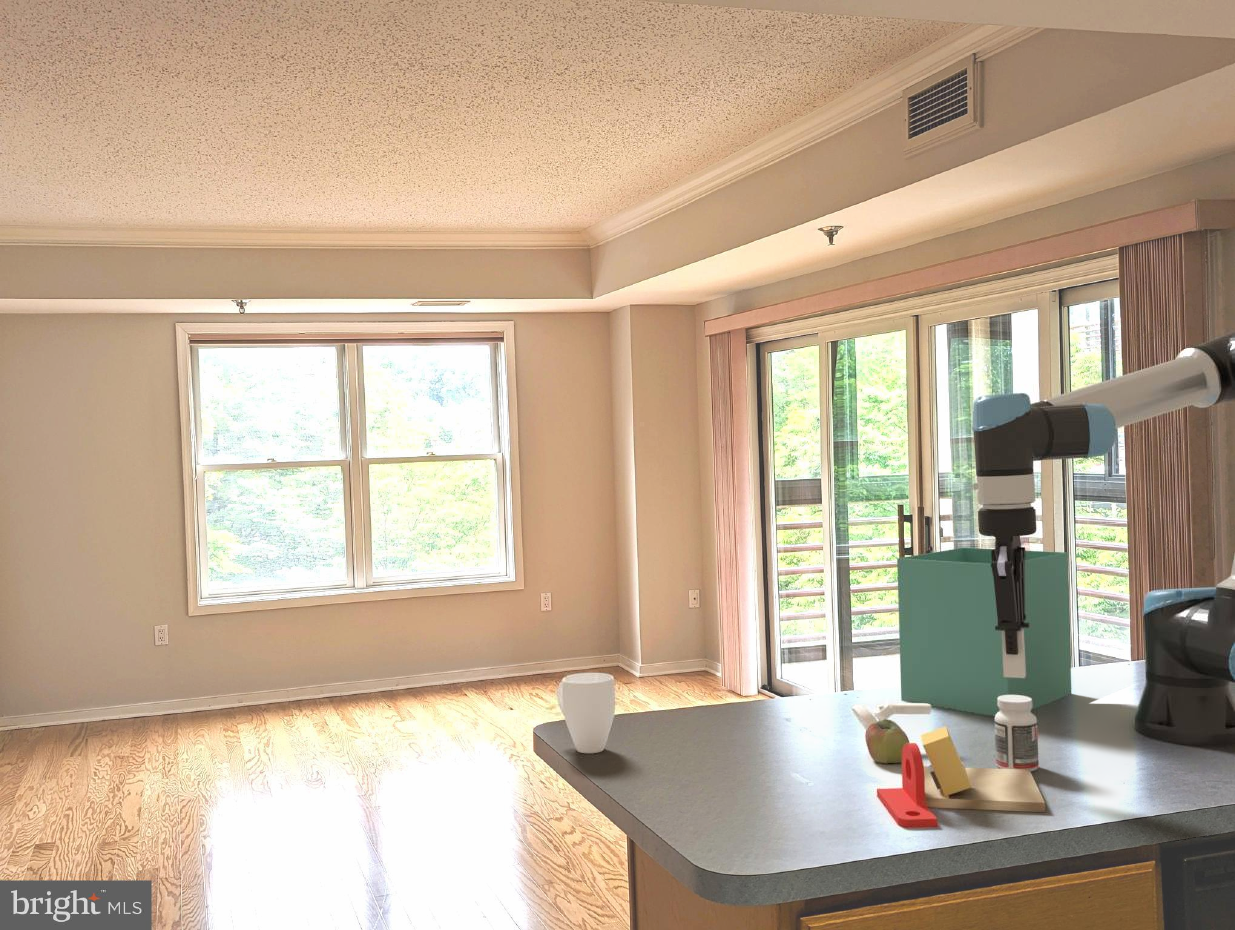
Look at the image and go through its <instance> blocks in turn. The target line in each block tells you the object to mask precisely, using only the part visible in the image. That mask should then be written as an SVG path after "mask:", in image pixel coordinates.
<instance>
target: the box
mask: <svg viewBox="0 0 1235 930" xmlns="http://www.w3.org/2000/svg"><path fill="white" fill-rule="evenodd" d="M992 549H993V548H979V547H958V548H953V549H946V550H940V551H936V552H929V553H923V554H915V555H911V556H904V557H899V558H896V563H897V564H896V565H897V567H896V568H897V594H898V596H897V598H898V603H897V604H898V630H899V631H898V633H899V635H898V636H899V663H900V665H899V666H900V696H901V697H900V699H901V701H902V702H903V701H904V702H907V703H927V704H930V705H931V707H937V706H938V708H942V707H944V708H943V709H948V708H952V709H951V710H954V709H958V710H957V711H960V710H962V711H961V712H965V711H967V712H966V713H971V712H975V713H974V714H977V713H978V714H977V715H983V714H985V715H984V716H988V715H993V716H992V717H994V716H995V715H996V714H997V713H998V712H999V711H1000V708H999V707H998V705H997V698H998V697H999V696H1002V695H1021V696H1027V697H1030V698H1031V699H1032V705H1033V707H1032V709H1033V710H1035V709H1038V708H1040V707H1043V706H1045V705H1048V704H1051V703H1052V702H1055V701H1057V700H1060V699H1062V698H1065V697H1067V696H1070V695H1072V671H1071V670H1072V666H1071V665H1072V662H1071V661H1072V660H1071V632H1070V631H1071V629H1070V626H1071V625H1070V591H1069V590H1070V588H1069V562H1068V561H1069V560H1068V559H1069V557H1068V554H1069V553H1068V552H1067V551H1066V552H1062V551H1061V552H1060V551H1045V550H1043V551H1041V550H1026V558H1025V615H1026V620H1025V621H1024V623H1029V628H1021V629H1024V645H1025V664H1026V677H1025V678H1012V677H1004V673H1003V653H1002V634H1001V630H995V626H996V625H998V618H997V608H996V598H995V588H994V578H993V573H992V567H991V562H992V558H991V550H992ZM1032 709H1031V711H1033V710H1032Z"/></svg>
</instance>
